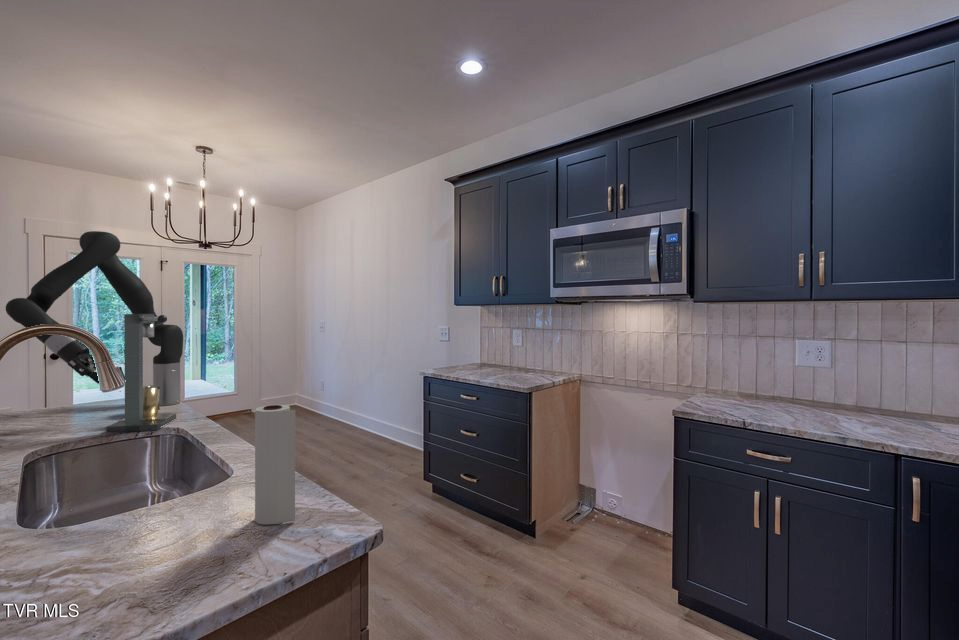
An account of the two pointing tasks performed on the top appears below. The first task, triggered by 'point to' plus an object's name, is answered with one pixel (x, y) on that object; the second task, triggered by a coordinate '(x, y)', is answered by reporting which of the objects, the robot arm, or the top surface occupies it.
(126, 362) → the press
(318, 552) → the top surface
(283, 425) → the paper towel roll
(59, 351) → the robot arm
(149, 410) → the cylinder
